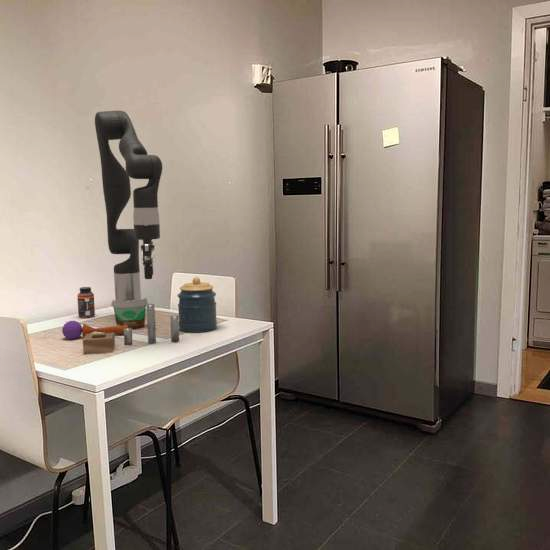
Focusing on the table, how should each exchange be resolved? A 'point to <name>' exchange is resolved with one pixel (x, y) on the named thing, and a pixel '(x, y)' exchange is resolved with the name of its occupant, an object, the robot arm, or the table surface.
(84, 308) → the supplement bottle
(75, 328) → the kendama
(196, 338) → the table surface
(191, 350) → the table surface
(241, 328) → the table surface
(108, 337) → the hole block
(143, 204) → the robot arm
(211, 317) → the canister
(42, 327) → the table surface
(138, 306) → the food container
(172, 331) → the medium pin
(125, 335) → the short pin
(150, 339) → the long pin
